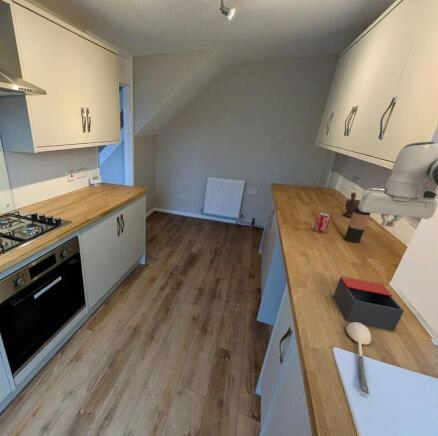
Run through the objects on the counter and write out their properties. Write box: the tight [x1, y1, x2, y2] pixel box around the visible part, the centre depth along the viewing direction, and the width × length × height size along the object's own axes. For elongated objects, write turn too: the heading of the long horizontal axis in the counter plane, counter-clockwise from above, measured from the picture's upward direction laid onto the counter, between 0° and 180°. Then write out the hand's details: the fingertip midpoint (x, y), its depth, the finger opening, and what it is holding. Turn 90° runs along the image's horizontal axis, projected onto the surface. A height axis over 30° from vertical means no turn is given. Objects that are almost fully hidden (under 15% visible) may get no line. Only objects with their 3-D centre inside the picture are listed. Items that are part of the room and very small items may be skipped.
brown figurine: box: [342, 192, 361, 219], centre depth 181 cm, size 12×9×20 cm
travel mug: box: [344, 207, 372, 244], centre depth 141 cm, size 8×8×20 cm
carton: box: [333, 277, 405, 332], centre depth 85 cm, size 14×13×8 cm
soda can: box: [313, 212, 331, 234], centre depth 155 cm, size 7×7×12 cm
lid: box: [340, 276, 393, 297], centre depth 87 cm, size 7×13×1 cm, turn 69°
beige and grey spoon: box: [346, 321, 372, 395], centre depth 69 cm, size 6×28×5 cm, turn 143°
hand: (387, 225), depth 89 cm, fingers closed
